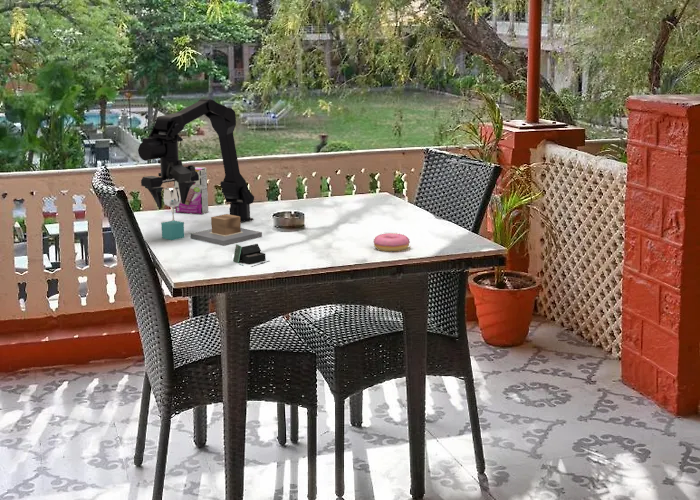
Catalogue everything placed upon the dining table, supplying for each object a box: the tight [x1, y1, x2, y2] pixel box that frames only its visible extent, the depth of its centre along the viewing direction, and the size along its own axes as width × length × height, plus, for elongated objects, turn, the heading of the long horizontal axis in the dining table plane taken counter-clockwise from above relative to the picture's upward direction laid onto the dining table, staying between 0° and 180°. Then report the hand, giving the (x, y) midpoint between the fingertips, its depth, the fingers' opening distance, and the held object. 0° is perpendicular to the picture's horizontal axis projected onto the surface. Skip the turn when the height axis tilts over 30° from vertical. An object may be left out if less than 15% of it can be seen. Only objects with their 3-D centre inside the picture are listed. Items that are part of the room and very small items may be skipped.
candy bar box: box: [173, 166, 209, 215], centre depth 342 cm, size 11×5×16 cm, turn 71°
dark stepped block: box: [231, 243, 270, 268], centre depth 273 cm, size 15×15×6 cm
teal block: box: [160, 219, 185, 241], centre depth 304 cm, size 5×5×5 cm
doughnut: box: [373, 232, 411, 253], centre depth 287 cm, size 11×11×4 cm
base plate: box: [189, 227, 263, 247], centre depth 303 cm, size 16×16×2 cm
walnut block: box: [210, 213, 242, 235], centre depth 303 cm, size 6×6×5 cm
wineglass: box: [163, 187, 181, 221], centre depth 325 cm, size 6×6×12 cm
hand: (171, 205), depth 302 cm, fingers open, 9 cm apart
